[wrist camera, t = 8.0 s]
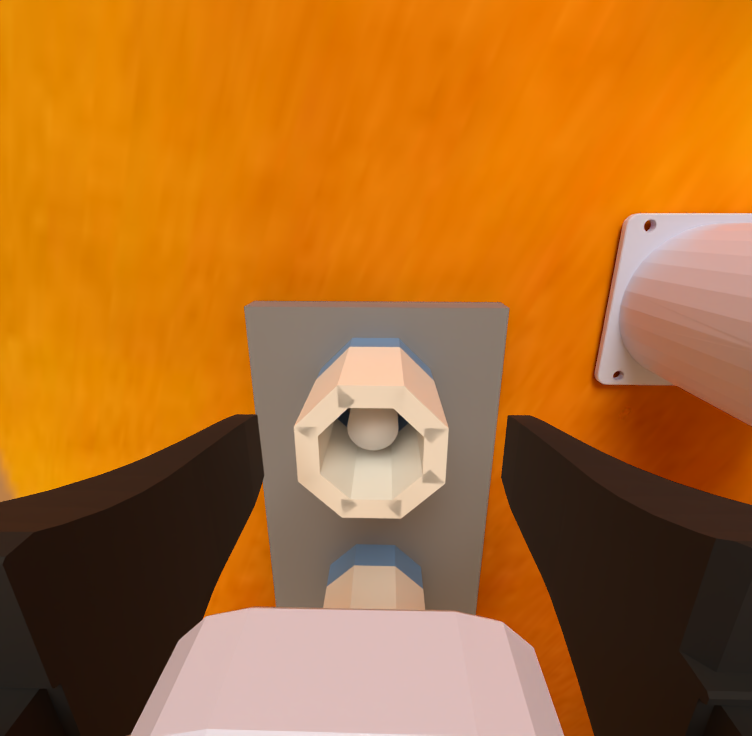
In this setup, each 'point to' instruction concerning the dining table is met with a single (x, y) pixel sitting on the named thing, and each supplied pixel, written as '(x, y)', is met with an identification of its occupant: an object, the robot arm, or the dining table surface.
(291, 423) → the pin board
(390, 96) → the dining table surface
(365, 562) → the seated sleeve
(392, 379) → the sleeve
